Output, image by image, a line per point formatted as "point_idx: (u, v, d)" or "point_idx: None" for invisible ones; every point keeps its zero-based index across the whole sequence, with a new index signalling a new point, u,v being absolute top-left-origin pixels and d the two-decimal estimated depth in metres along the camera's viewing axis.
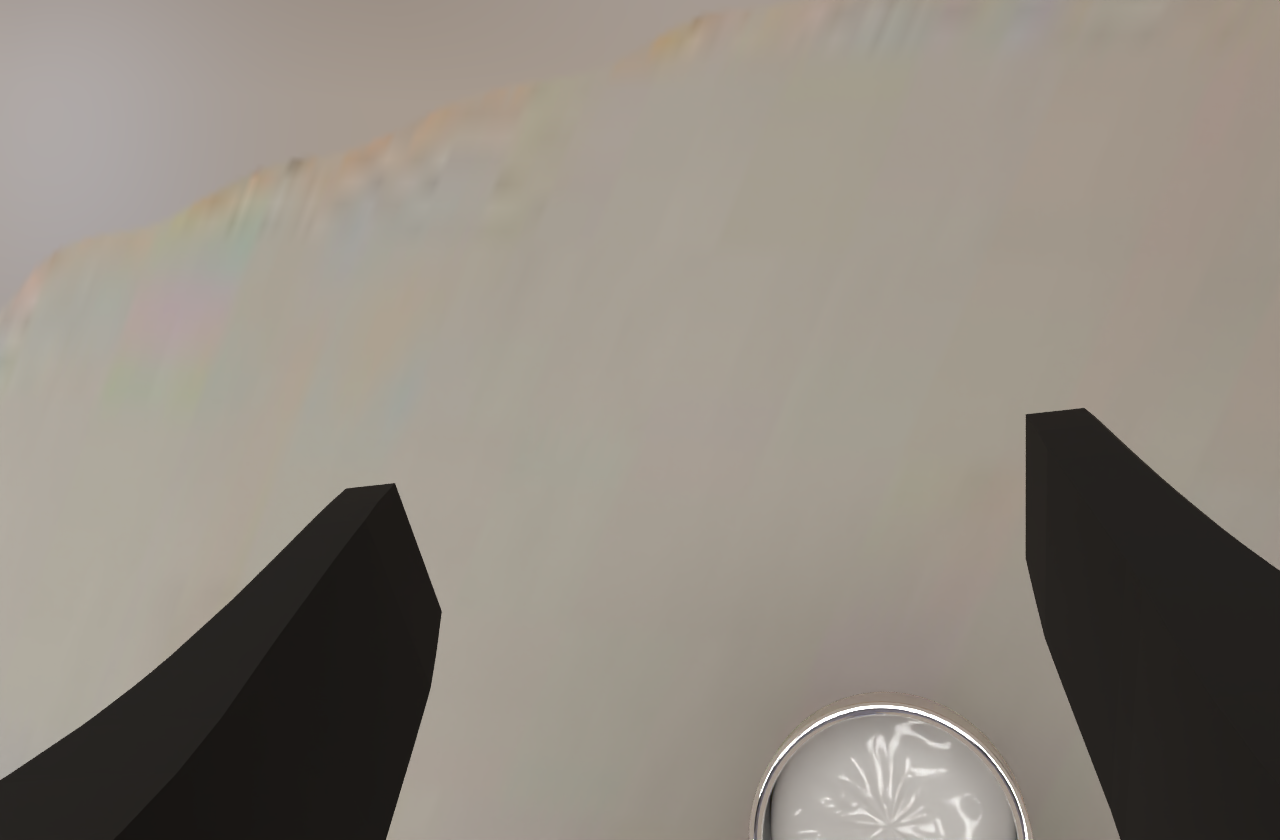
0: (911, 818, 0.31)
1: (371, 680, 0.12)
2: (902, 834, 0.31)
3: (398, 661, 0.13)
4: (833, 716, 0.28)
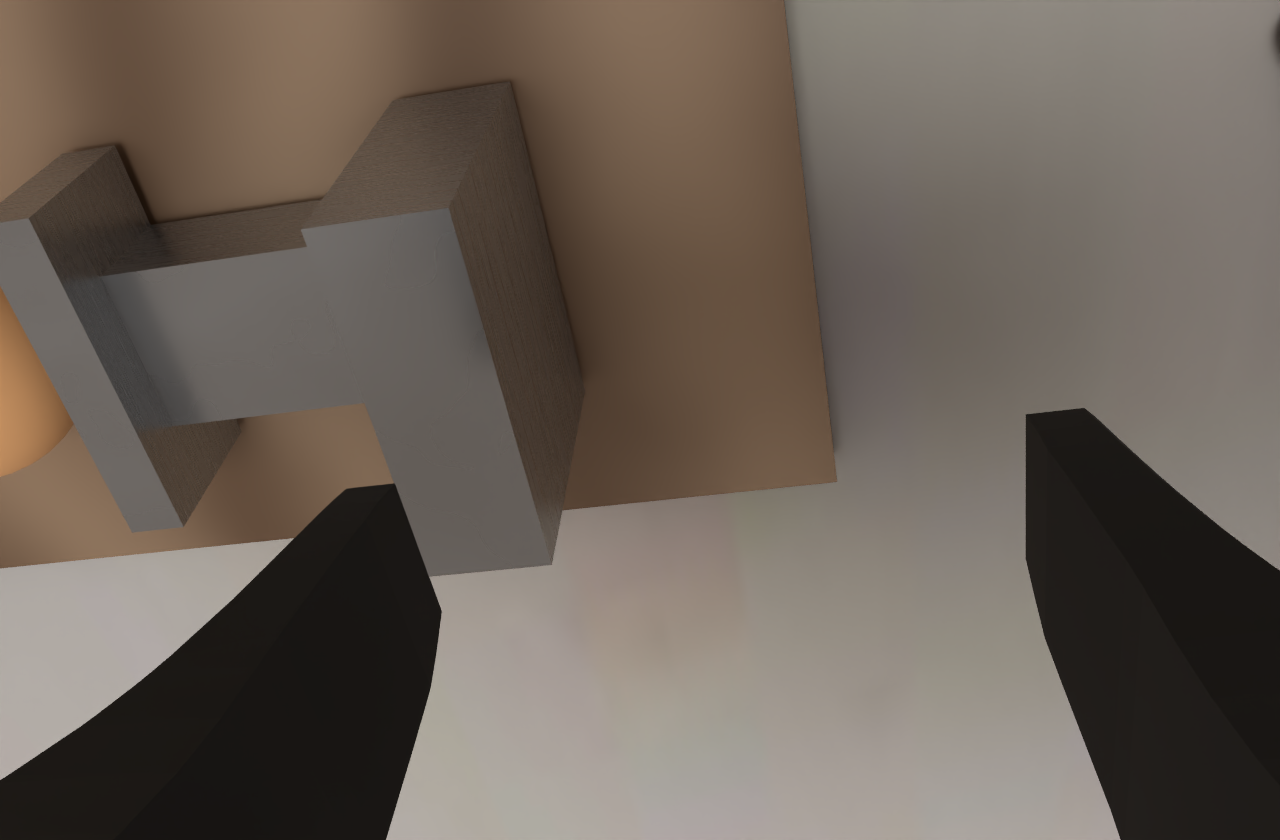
0: None
1: (372, 680, 0.12)
2: None
3: (397, 661, 0.13)
4: None
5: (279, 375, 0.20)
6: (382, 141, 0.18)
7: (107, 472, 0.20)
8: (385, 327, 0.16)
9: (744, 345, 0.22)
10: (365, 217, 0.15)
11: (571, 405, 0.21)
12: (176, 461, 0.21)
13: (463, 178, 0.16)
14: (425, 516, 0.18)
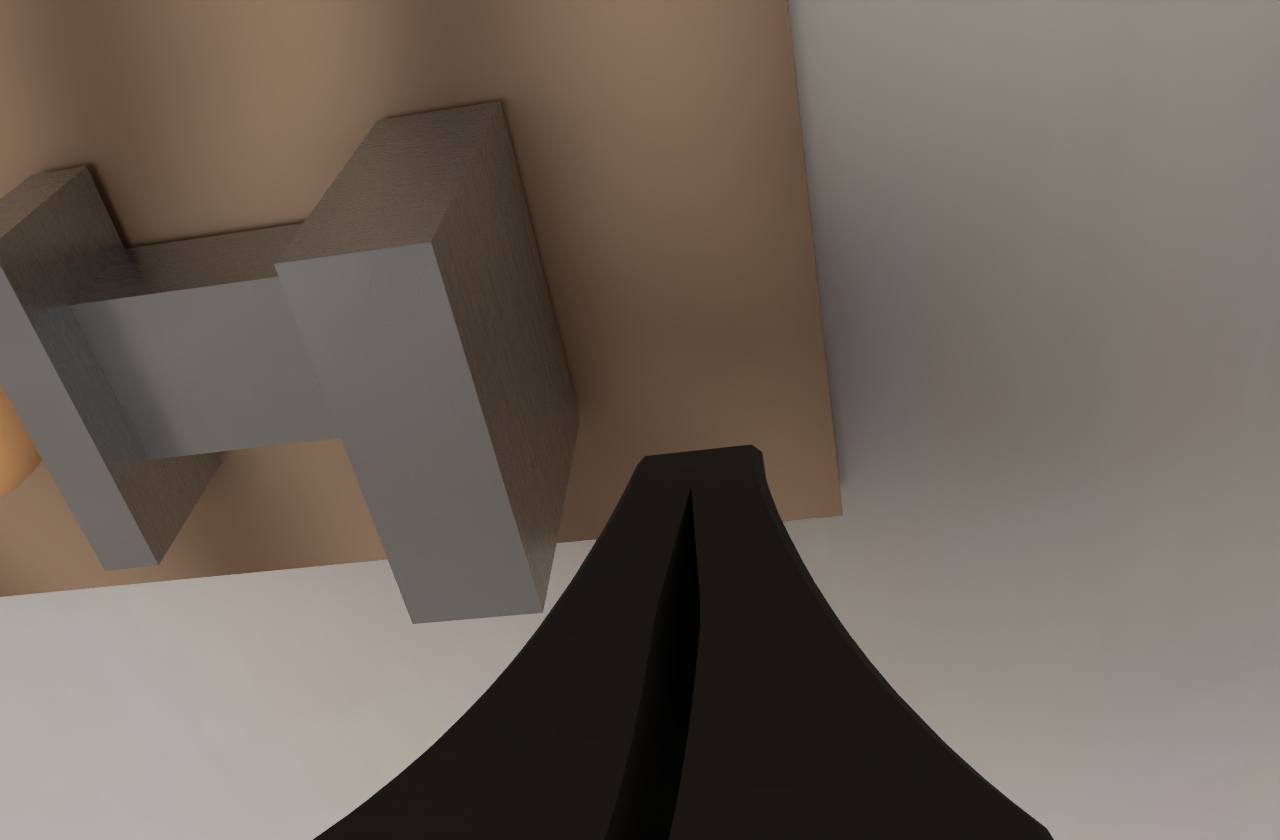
0: None
1: None
2: None
3: None
4: None
5: (258, 408, 0.19)
6: (365, 166, 0.17)
7: (78, 509, 0.19)
8: (365, 367, 0.15)
9: (746, 375, 0.21)
10: (342, 252, 0.14)
11: (565, 439, 0.20)
12: (151, 496, 0.20)
13: (448, 209, 0.15)
14: (409, 562, 0.17)
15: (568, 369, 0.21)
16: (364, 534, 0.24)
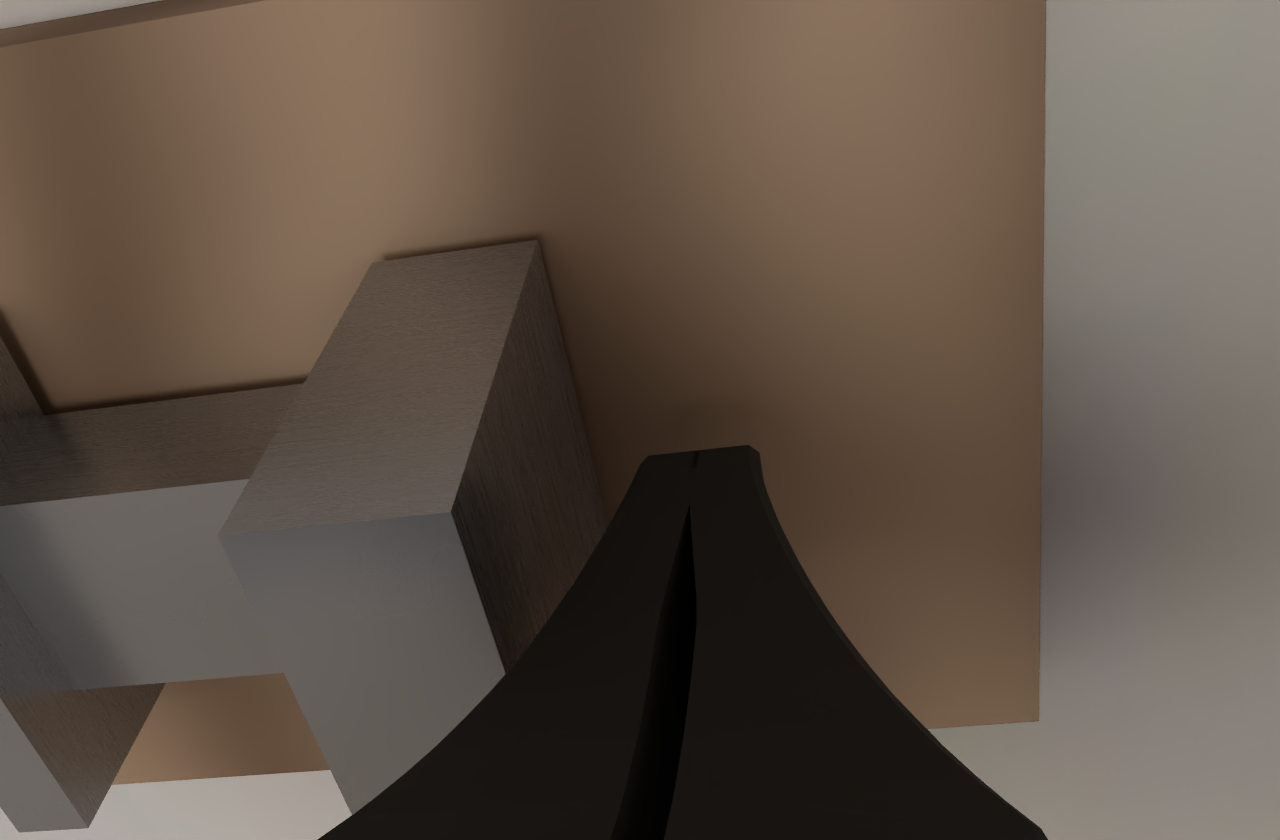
0: None
1: None
2: None
3: None
4: None
5: (216, 633, 0.15)
6: (354, 346, 0.12)
7: None
8: (353, 665, 0.10)
9: (934, 559, 0.16)
10: (318, 519, 0.10)
11: None
12: (78, 738, 0.15)
13: (473, 442, 0.10)
14: None
15: None
16: None
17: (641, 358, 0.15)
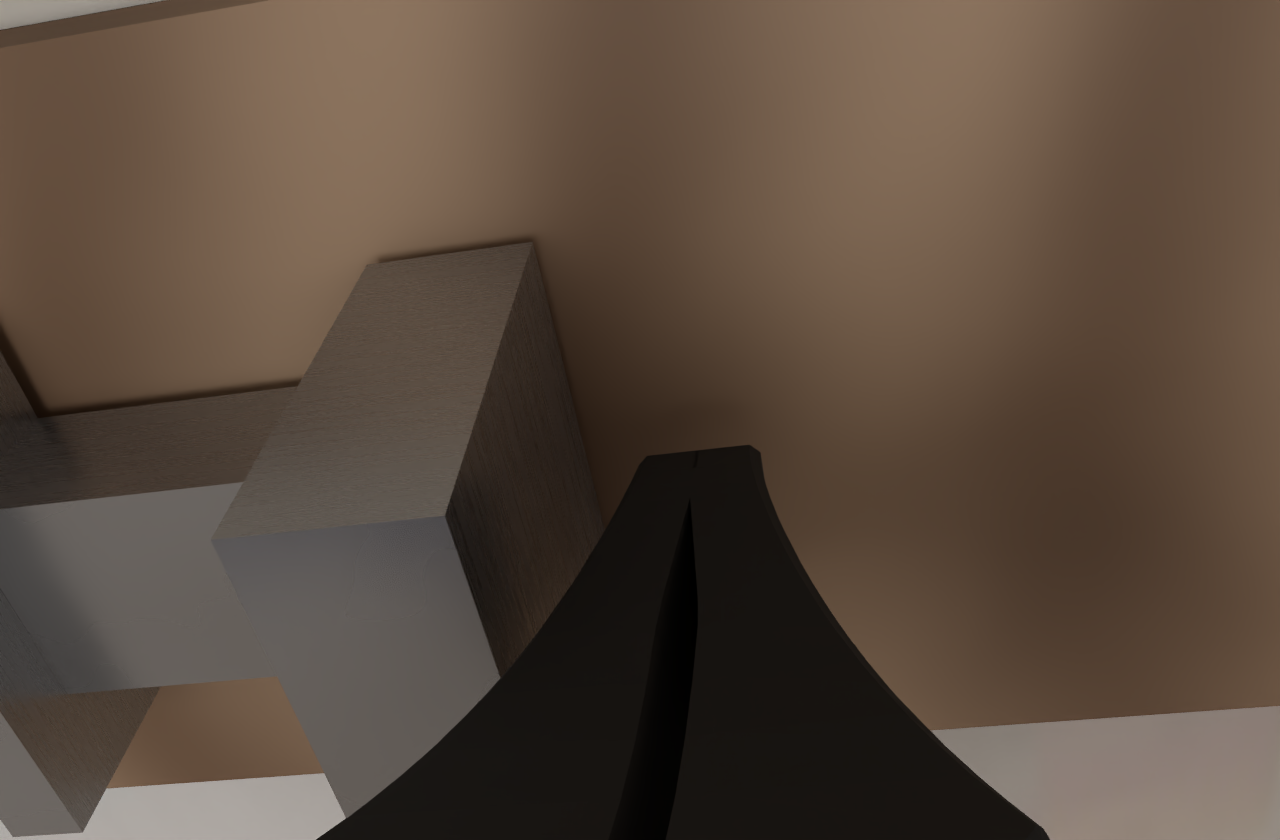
0: None
1: None
2: None
3: None
4: None
5: (210, 637, 0.15)
6: (348, 348, 0.12)
7: None
8: (347, 669, 0.10)
9: None
10: (312, 523, 0.10)
11: None
12: (72, 742, 0.15)
13: (467, 445, 0.10)
14: None
15: (1189, 505, 0.15)
16: None
17: (1185, 293, 0.14)
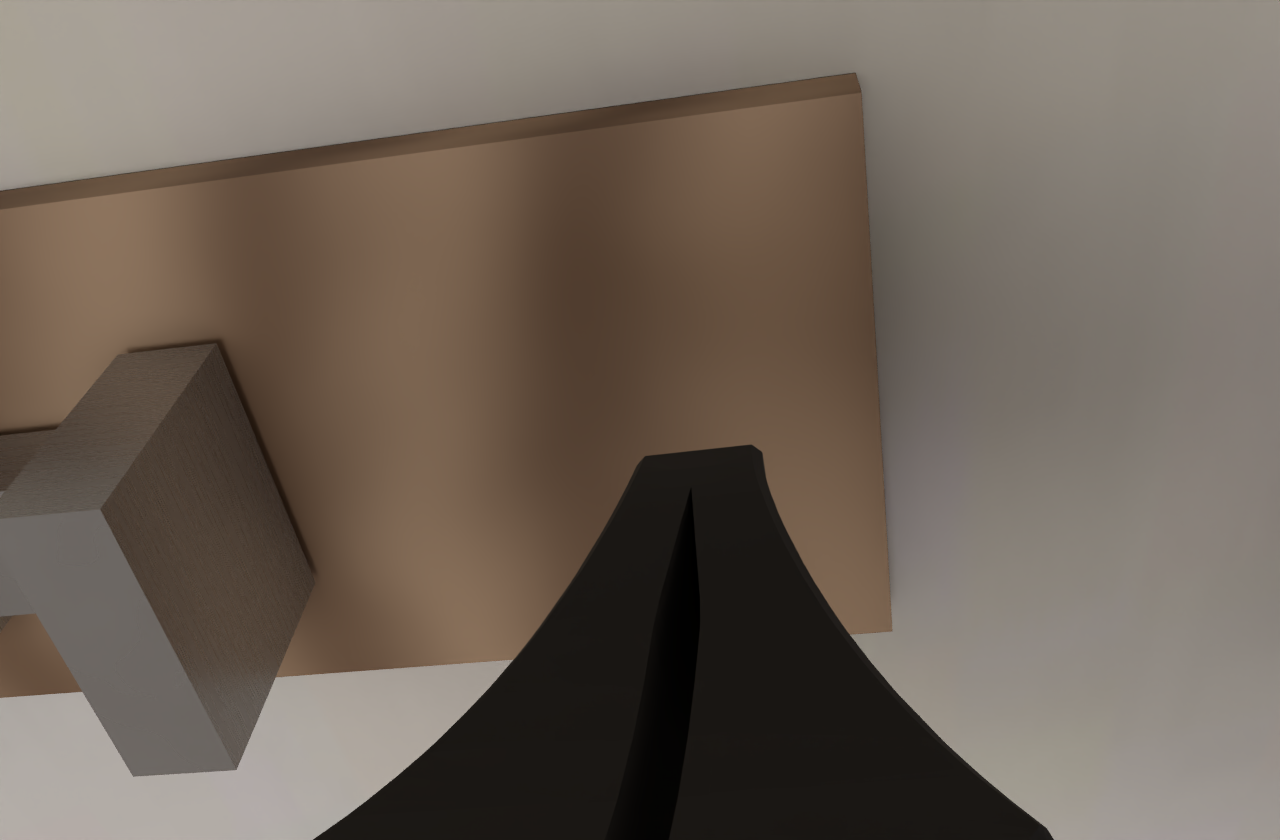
0: None
1: None
2: None
3: None
4: None
5: None
6: (87, 411, 0.21)
7: None
8: (63, 593, 0.19)
9: (814, 515, 0.24)
10: (34, 512, 0.18)
11: (289, 606, 0.24)
12: None
13: (127, 471, 0.19)
14: (122, 731, 0.21)
15: None
16: (464, 641, 0.26)
17: (618, 379, 0.22)
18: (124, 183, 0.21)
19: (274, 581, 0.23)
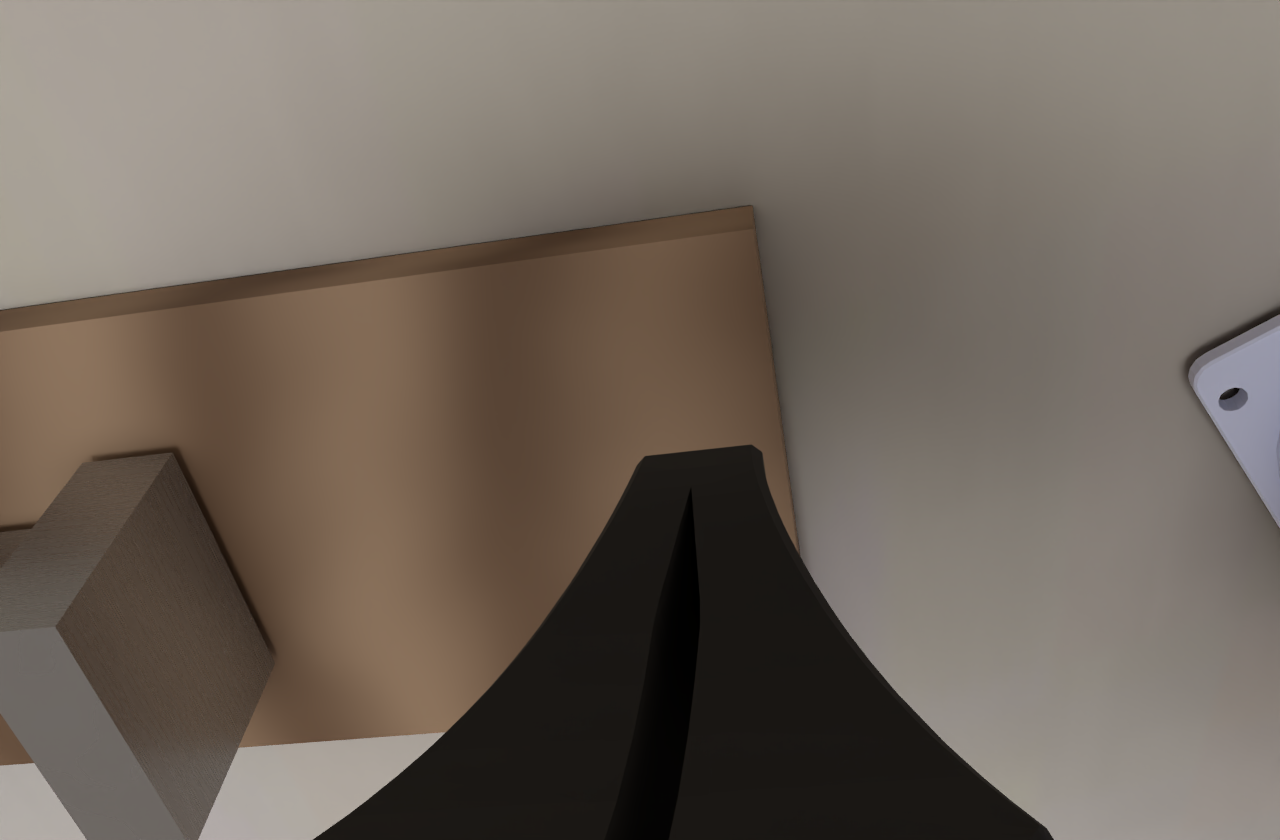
0: None
1: None
2: None
3: None
4: None
5: None
6: (50, 523, 0.22)
7: None
8: (26, 698, 0.21)
9: None
10: None
11: (247, 690, 0.26)
12: None
13: (82, 587, 0.20)
14: (86, 818, 0.22)
15: None
16: (417, 714, 0.28)
17: (547, 480, 0.24)
18: (84, 309, 0.23)
19: (232, 668, 0.25)
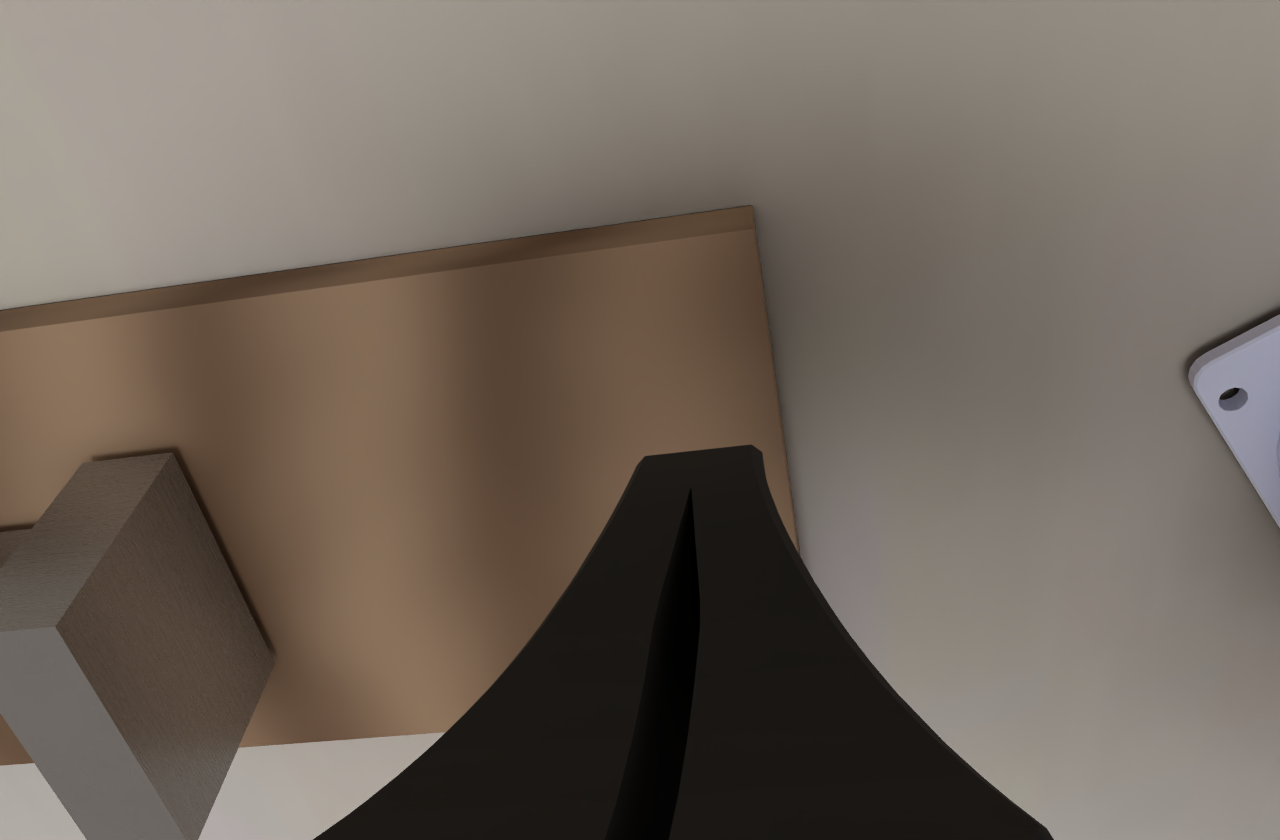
0: None
1: None
2: None
3: None
4: None
5: None
6: (50, 523, 0.22)
7: None
8: (26, 698, 0.21)
9: None
10: None
11: (247, 690, 0.26)
12: None
13: (82, 587, 0.20)
14: (86, 818, 0.22)
15: None
16: (417, 714, 0.28)
17: (547, 480, 0.24)
18: (84, 309, 0.23)
19: (232, 668, 0.25)
